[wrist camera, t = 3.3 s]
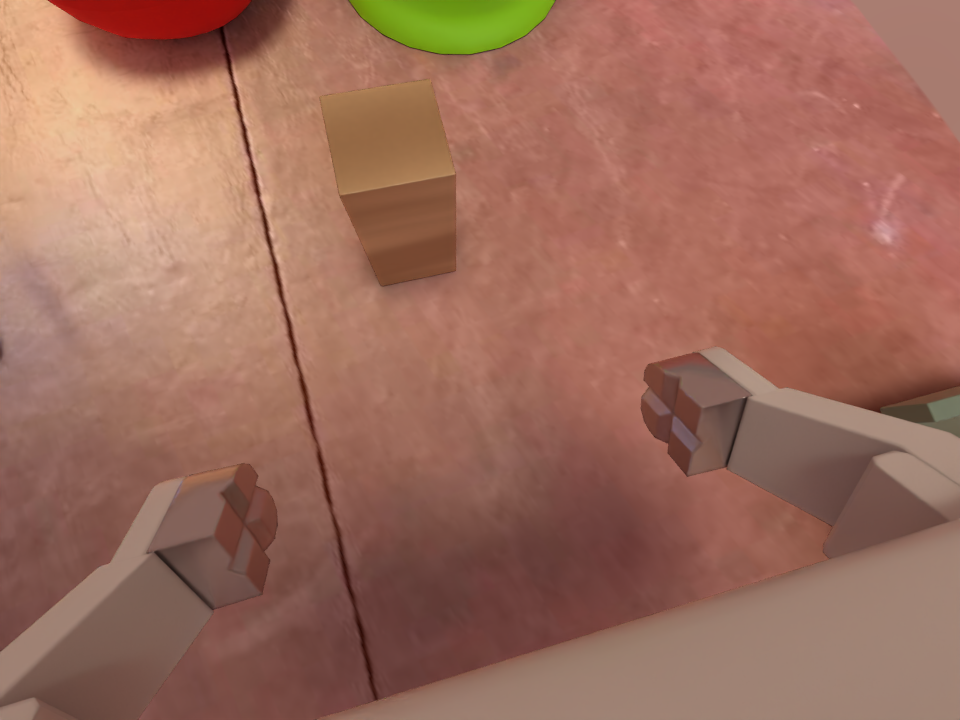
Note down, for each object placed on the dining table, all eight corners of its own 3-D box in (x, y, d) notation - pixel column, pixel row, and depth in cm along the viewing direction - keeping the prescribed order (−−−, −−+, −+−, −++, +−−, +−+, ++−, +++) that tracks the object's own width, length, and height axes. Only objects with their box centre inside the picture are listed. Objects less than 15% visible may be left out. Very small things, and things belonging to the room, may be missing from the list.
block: (456, 271, 25) (456, 174, 16) (381, 286, 24) (339, 195, 16) (439, 204, 26) (430, 77, 17) (366, 218, 25) (318, 95, 16)
